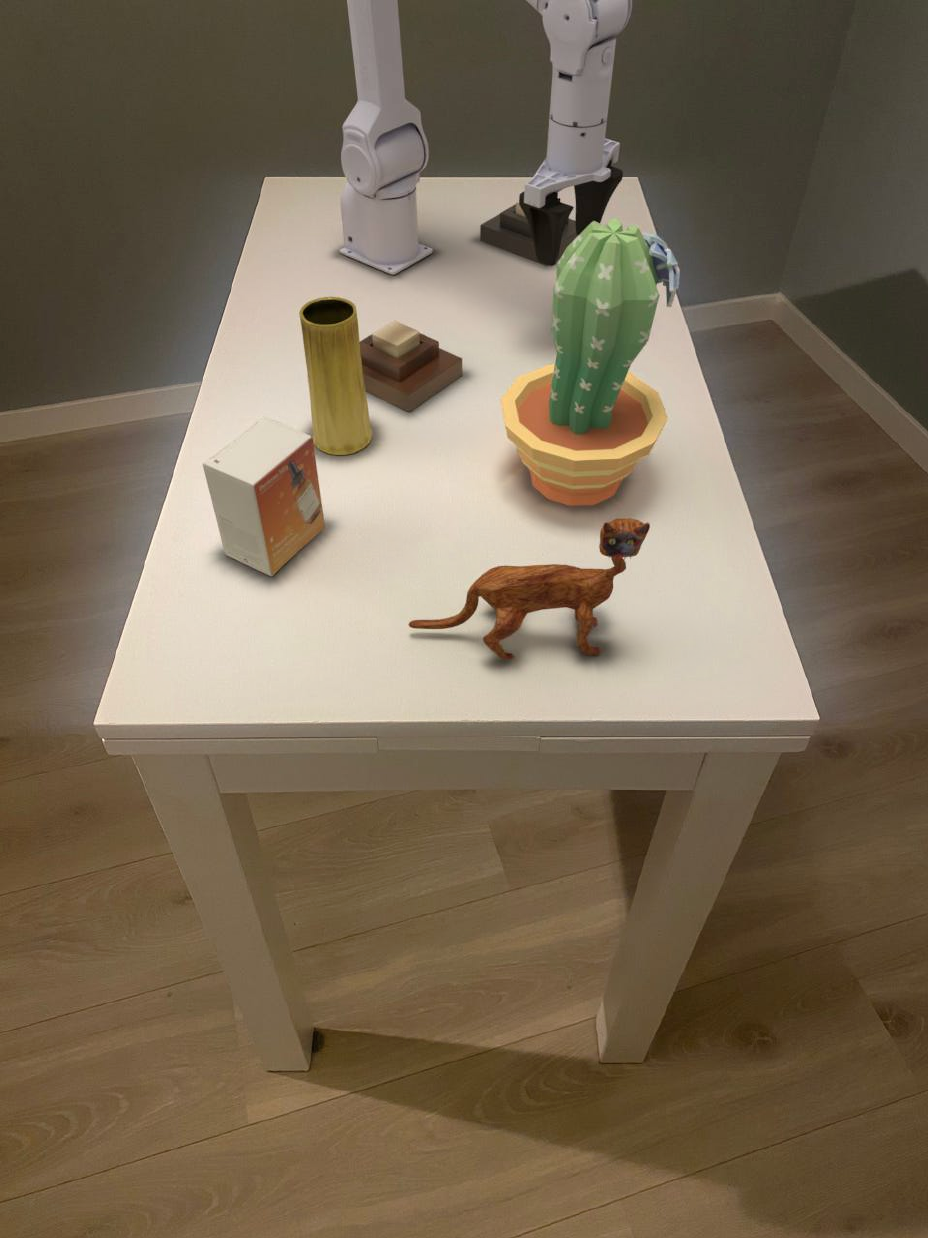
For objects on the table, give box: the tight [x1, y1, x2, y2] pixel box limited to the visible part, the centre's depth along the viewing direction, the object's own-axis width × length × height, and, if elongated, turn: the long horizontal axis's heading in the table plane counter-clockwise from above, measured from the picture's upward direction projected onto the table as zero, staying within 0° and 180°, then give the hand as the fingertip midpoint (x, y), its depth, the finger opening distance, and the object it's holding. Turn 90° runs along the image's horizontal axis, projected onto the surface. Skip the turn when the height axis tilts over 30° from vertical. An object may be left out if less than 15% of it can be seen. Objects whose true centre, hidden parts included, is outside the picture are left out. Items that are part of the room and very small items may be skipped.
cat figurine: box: [408, 517, 651, 660], centre depth 73 cm, size 18×7×14 cm, turn 89°
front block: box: [359, 325, 463, 414], centre depth 102 cm, size 11×9×4 cm
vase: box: [299, 296, 373, 456], centre depth 90 cm, size 6×6×14 cm
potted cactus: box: [500, 217, 681, 507], centre depth 83 cm, size 15×15×25 cm
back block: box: [479, 203, 579, 267], centre depth 123 cm, size 11×9×4 cm
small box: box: [202, 416, 326, 577], centre depth 82 cm, size 8×6×10 cm
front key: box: [371, 319, 421, 359], centre depth 100 cm, size 4×4×2 cm
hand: (566, 248), depth 102 cm, fingers open, 7 cm apart
